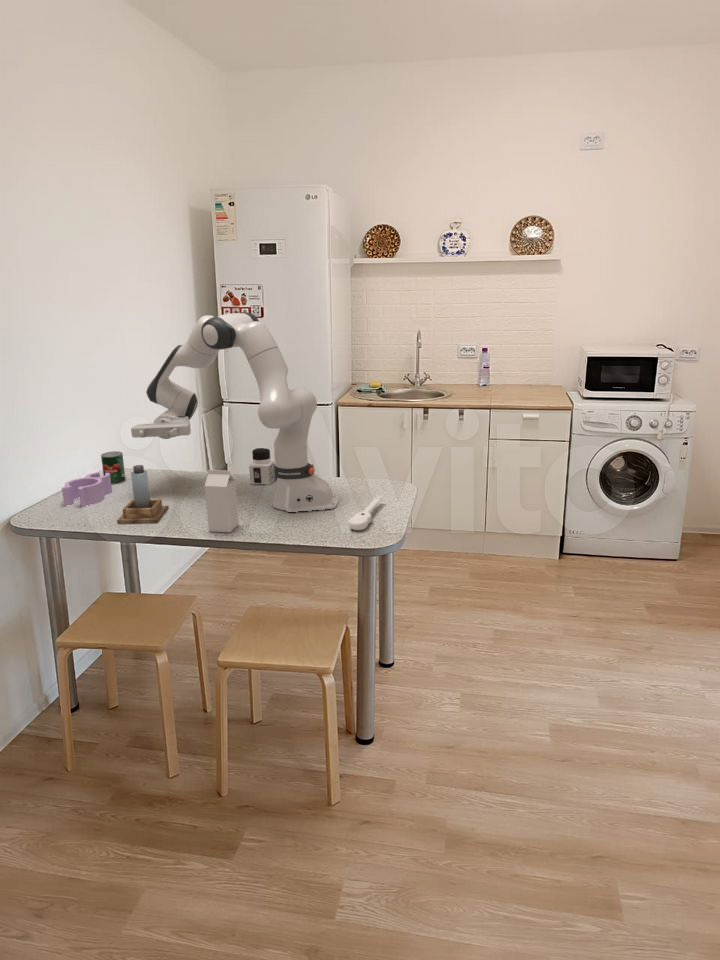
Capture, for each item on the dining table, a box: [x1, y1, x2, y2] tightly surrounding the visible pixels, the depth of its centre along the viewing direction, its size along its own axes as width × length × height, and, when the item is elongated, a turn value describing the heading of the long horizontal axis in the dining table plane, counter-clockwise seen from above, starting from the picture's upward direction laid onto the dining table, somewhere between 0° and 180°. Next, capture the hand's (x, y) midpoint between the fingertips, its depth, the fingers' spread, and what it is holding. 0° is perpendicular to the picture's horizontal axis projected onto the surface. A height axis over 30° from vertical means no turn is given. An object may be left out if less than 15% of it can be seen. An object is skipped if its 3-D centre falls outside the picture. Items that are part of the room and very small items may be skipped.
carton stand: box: [116, 498, 170, 525], centre depth 236 cm, size 13×14×4 cm
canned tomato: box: [100, 450, 126, 485], centre depth 275 cm, size 8×8×11 cm
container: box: [248, 447, 275, 486], centre depth 269 cm, size 8×8×13 cm
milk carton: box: [204, 469, 239, 533], centre depth 221 cm, size 7×7×19 cm
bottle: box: [130, 464, 151, 508], centre depth 234 cm, size 5×5×16 cm
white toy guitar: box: [348, 496, 384, 531], centre depth 230 cm, size 28×6×3 cm, turn 162°
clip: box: [61, 471, 113, 508], centre depth 256 cm, size 20×12×7 cm, turn 167°
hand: (155, 434), depth 244 cm, fingers open, 8 cm apart
